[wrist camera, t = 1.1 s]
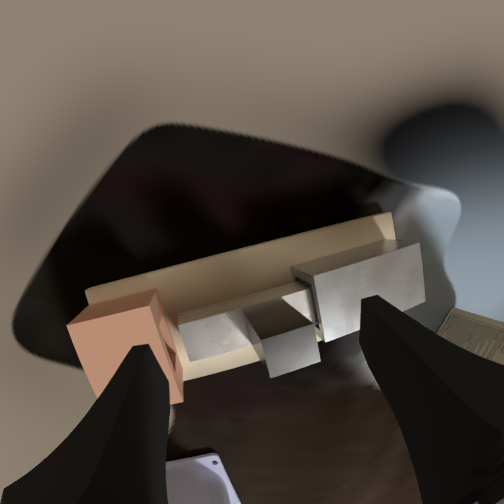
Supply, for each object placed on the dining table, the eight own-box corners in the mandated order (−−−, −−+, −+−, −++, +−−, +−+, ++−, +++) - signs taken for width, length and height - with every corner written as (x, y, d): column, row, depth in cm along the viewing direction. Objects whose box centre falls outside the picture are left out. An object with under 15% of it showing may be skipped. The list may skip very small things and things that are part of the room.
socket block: (182, 368, 21) (183, 401, 17) (118, 382, 20) (105, 416, 16) (156, 287, 20) (149, 305, 16) (89, 304, 20) (66, 325, 15)
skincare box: (437, 374, 28) (520, 423, 16) (418, 356, 27) (510, 409, 15) (469, 324, 28) (556, 357, 16) (452, 302, 27) (550, 334, 15)
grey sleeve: (392, 290, 24) (425, 301, 20) (301, 322, 23) (325, 342, 19) (385, 238, 23) (419, 242, 19) (290, 266, 22) (313, 276, 18)
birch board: (397, 305, 25) (403, 307, 24) (125, 387, 22) (123, 393, 21) (384, 212, 24) (391, 211, 23) (88, 287, 20) (84, 290, 19)
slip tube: (387, 285, 23) (452, 306, 16) (189, 347, 20) (192, 403, 13) (383, 254, 23) (450, 267, 16) (178, 313, 20) (175, 358, 13)
